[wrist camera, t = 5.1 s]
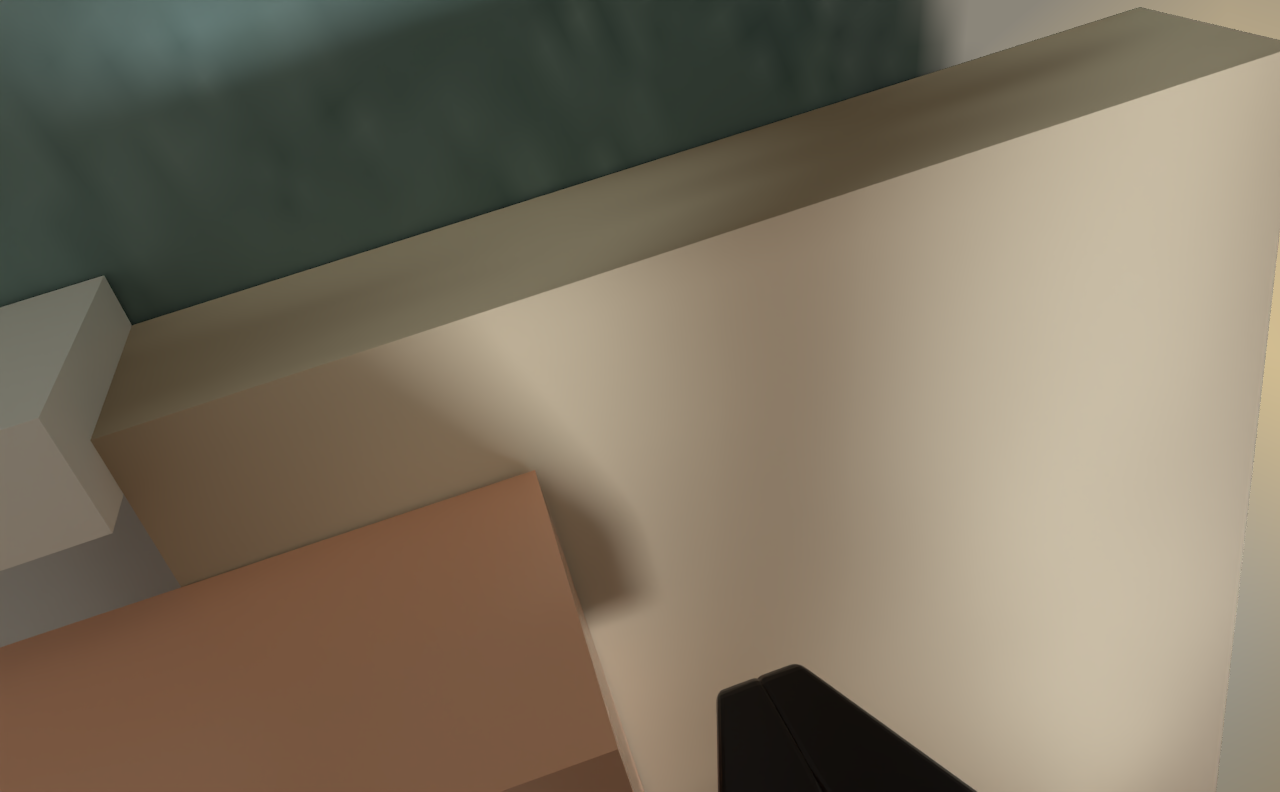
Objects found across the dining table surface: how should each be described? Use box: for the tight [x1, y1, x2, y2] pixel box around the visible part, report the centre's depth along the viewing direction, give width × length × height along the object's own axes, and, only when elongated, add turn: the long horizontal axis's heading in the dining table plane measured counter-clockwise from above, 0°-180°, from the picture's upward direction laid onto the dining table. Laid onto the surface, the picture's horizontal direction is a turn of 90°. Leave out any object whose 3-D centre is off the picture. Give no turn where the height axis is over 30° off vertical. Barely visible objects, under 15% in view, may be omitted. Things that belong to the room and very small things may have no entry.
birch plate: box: [90, 7, 1280, 792], centre depth 13 cm, size 10×15×2 cm, turn 13°
